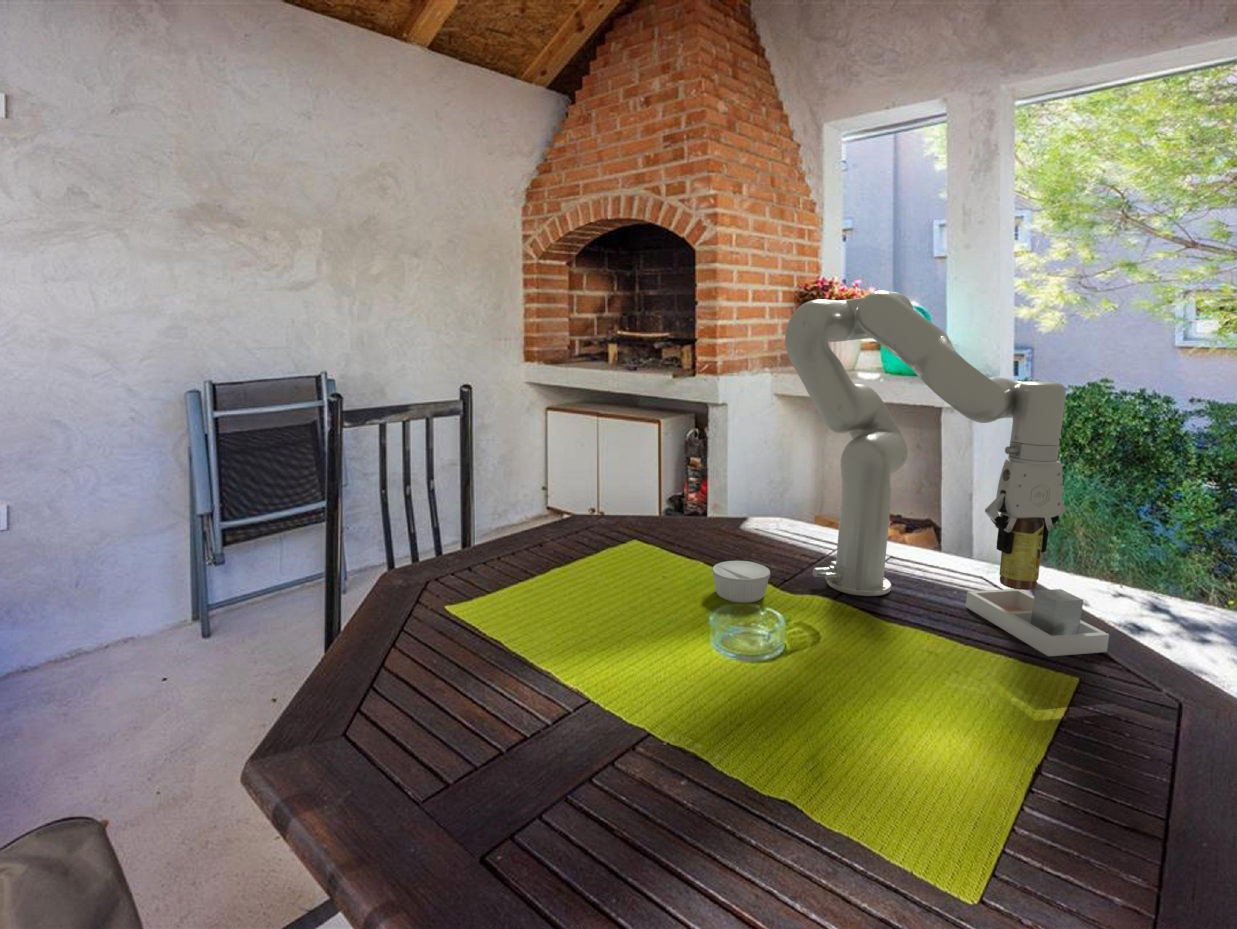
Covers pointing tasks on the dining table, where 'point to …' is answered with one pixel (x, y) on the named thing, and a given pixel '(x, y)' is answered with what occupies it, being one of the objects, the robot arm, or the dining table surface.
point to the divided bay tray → (1015, 618)
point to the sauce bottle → (1023, 555)
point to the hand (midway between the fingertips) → (1021, 549)
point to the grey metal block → (1056, 612)
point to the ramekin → (740, 580)
